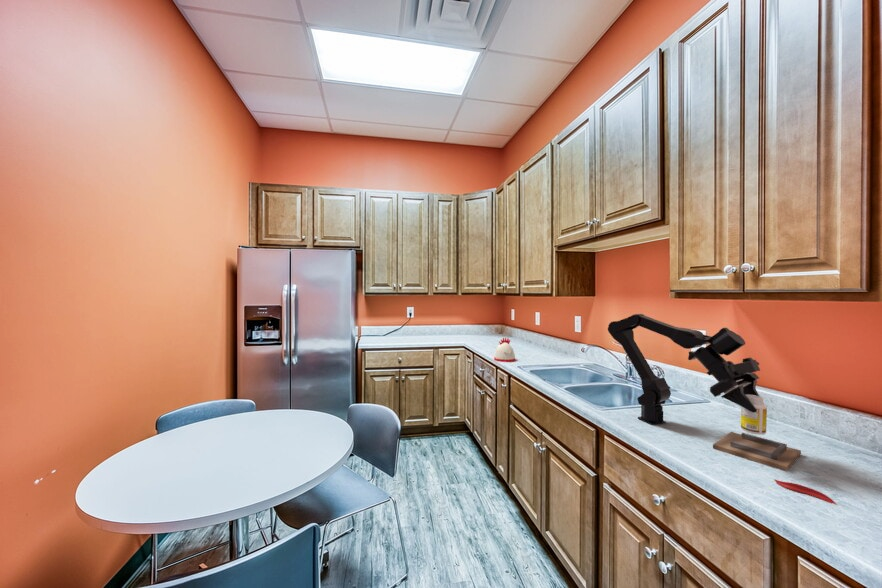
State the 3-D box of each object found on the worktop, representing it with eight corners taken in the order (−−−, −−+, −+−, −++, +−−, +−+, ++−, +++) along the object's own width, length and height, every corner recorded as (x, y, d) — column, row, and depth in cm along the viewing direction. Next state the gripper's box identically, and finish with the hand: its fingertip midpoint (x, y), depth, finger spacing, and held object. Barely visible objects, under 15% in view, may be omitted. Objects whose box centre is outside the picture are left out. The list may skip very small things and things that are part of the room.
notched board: (712, 448, 105) (712, 439, 104) (731, 435, 114) (731, 427, 114) (786, 471, 91) (786, 461, 91) (800, 454, 100) (800, 445, 100)
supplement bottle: (758, 428, 103) (759, 394, 103) (771, 436, 98) (772, 400, 97) (736, 426, 104) (737, 392, 104) (747, 434, 99) (748, 398, 99)
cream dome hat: (518, 361, 229) (518, 338, 229) (499, 362, 226) (499, 339, 226) (509, 357, 243) (509, 335, 243) (491, 358, 239) (490, 336, 239)
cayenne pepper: (766, 481, 88) (766, 473, 88) (780, 479, 89) (780, 471, 89) (829, 510, 76) (829, 502, 76) (843, 507, 77) (844, 499, 77)
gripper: (723, 351, 99) (773, 401, 90) (751, 346, 108) (799, 390, 99) (692, 373, 106) (735, 421, 97) (720, 366, 115) (763, 409, 106)
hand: (759, 410), depth 100 cm, fingers closed on supplement bottle, 6 cm apart
